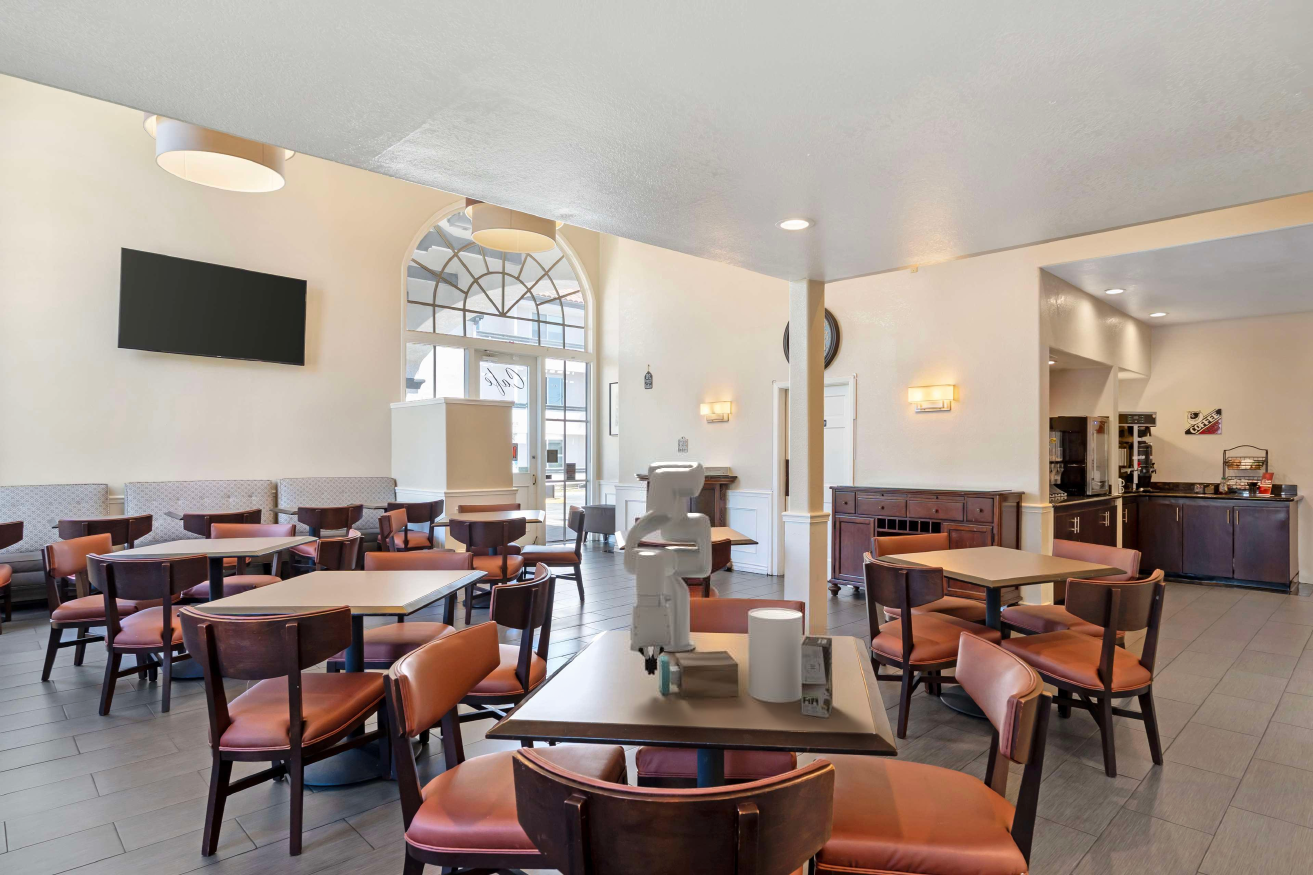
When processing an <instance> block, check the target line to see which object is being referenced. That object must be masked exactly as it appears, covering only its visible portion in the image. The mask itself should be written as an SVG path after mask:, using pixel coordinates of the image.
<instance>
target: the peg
mask: <svg viewBox="0 0 1313 875" xmlns="http://www.w3.org/2000/svg"><path fill="white" fill-rule="evenodd" d="M670 662H671V661H670V660H669V658H668V656H667V655H661V656H660V655H659V657H658V688H659V691H660V693H661V695H670V694H671V686H676V685H680V667H679V666H675V665H673V666H672V665H671V664H670ZM670 665H671V666H670Z"/></svg>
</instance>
